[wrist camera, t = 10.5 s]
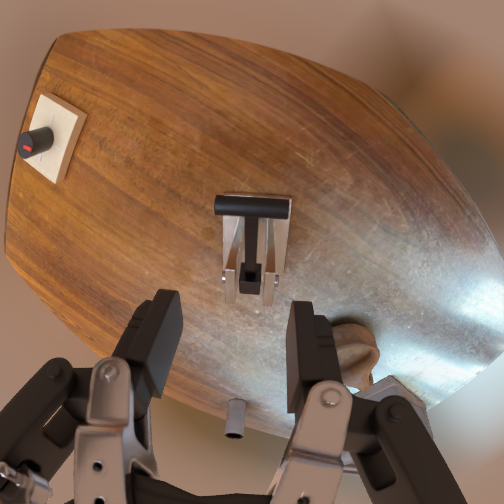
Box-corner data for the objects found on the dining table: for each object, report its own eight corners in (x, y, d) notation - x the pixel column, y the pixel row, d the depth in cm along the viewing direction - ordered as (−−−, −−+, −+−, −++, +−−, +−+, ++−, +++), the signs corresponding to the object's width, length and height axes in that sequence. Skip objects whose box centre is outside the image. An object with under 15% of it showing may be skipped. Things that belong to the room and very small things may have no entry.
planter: (242, 398, 62) (239, 432, 53) (248, 405, 64) (245, 438, 55) (226, 399, 63) (221, 433, 54) (232, 406, 65) (228, 439, 56)
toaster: (355, 438, 78) (360, 478, 63) (298, 418, 67) (299, 472, 52) (427, 404, 67) (440, 447, 51) (392, 373, 55) (409, 435, 40)
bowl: (403, 338, 47) (405, 383, 40) (351, 359, 56) (349, 399, 49) (349, 301, 42) (349, 356, 35) (294, 330, 52) (287, 376, 44)
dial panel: (50, 92, 28) (40, 93, 26) (87, 114, 31) (77, 116, 28) (31, 154, 33) (21, 158, 31) (64, 179, 36) (54, 184, 34)
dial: (36, 147, 30) (14, 155, 26) (40, 124, 29) (17, 130, 24) (51, 153, 31) (29, 162, 27) (56, 129, 29) (32, 136, 25)
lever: (217, 187, 21) (212, 209, 19) (289, 191, 20) (289, 214, 19) (227, 273, 31) (224, 292, 30) (275, 277, 31) (274, 296, 30)
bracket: (224, 191, 36) (203, 233, 25) (291, 196, 36) (301, 240, 25) (224, 266, 42) (209, 325, 31) (282, 270, 42) (285, 331, 31)
